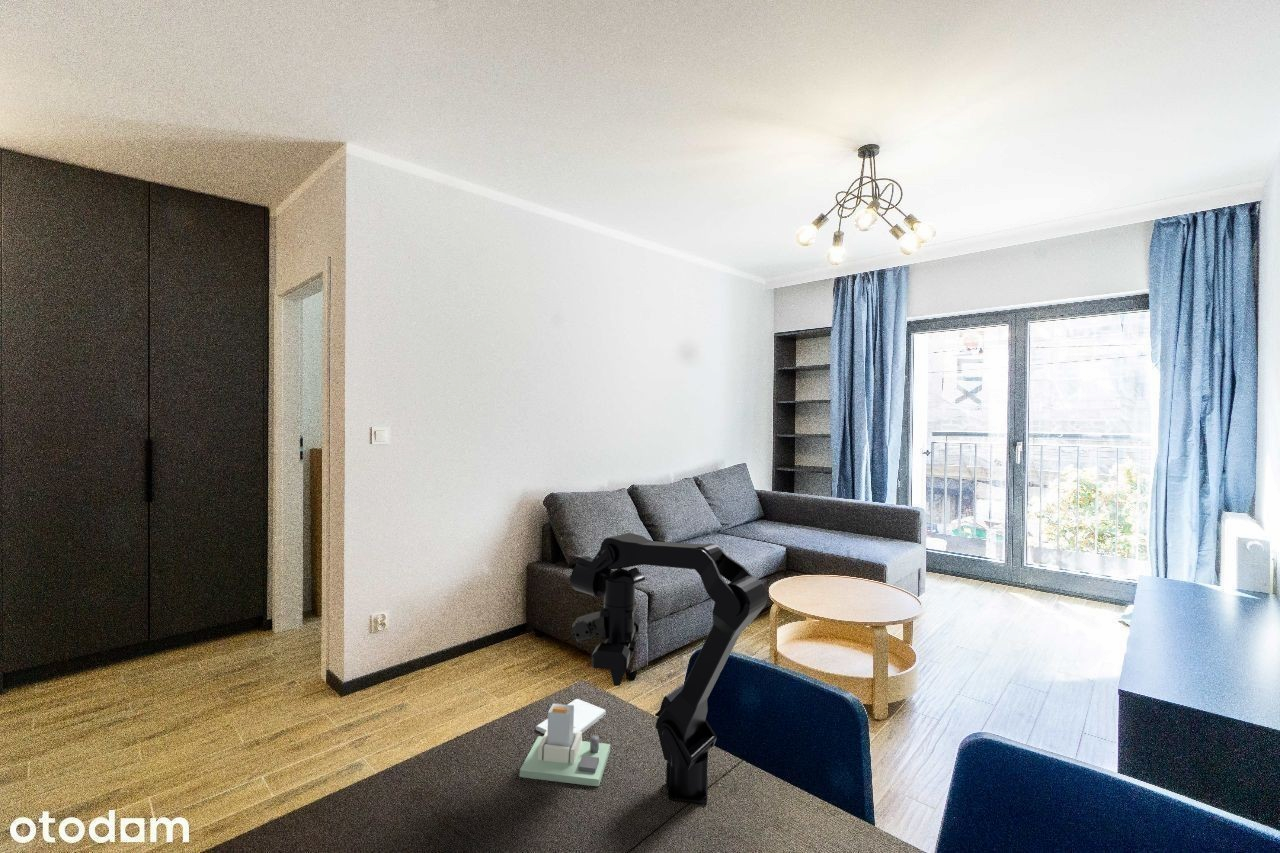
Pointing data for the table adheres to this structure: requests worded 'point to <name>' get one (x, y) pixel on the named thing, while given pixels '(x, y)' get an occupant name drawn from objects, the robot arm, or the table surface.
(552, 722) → the plug
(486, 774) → the table surface
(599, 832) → the table surface
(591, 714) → the external hard drive
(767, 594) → the robot arm
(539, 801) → the table surface
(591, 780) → the board
